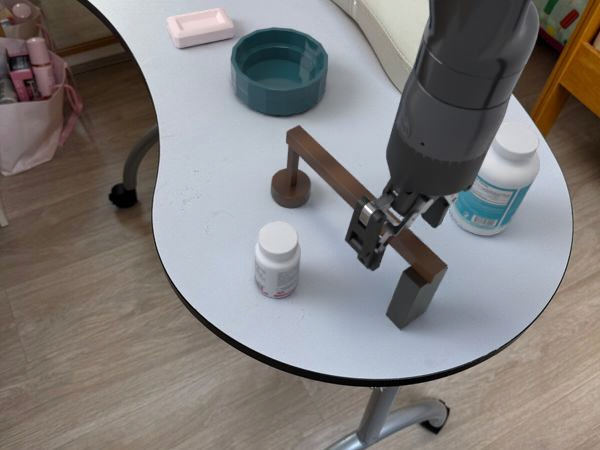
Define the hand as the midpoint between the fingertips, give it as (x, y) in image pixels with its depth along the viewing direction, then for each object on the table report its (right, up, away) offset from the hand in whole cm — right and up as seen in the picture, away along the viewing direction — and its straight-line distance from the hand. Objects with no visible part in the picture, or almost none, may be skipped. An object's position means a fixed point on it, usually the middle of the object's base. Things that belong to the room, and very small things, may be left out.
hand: (400, 241), depth 58 cm
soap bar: (-25, +31, +32) cm, 51 cm away
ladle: (-5, -1, +11) cm, 12 cm away
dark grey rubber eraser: (+2, -8, +6) cm, 10 cm away
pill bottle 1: (-12, -5, +8) cm, 15 cm away
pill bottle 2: (+12, +3, +15) cm, 20 cm away
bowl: (-13, +22, +26) cm, 36 cm away
